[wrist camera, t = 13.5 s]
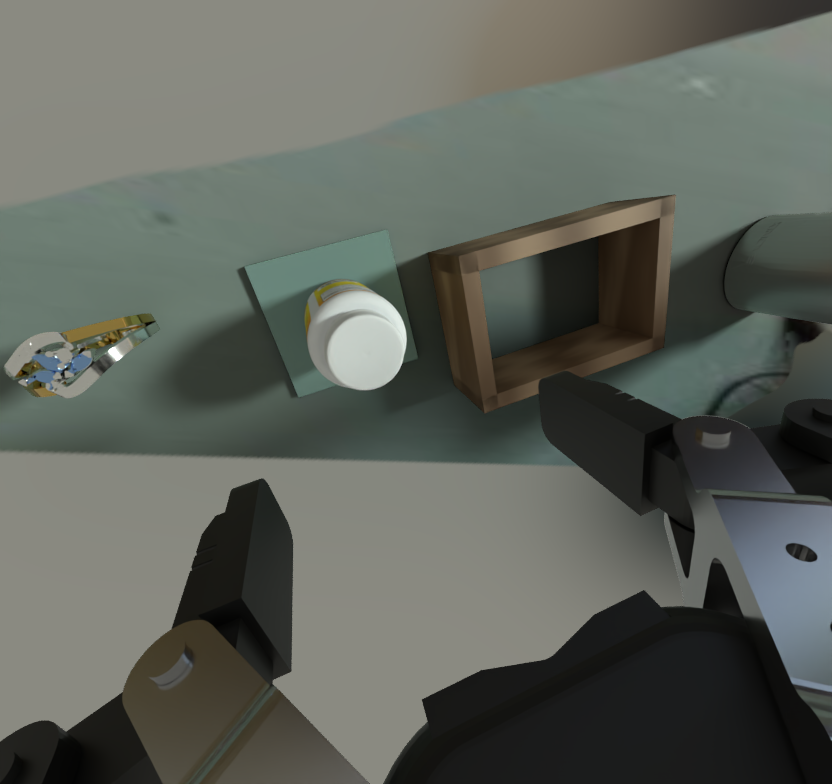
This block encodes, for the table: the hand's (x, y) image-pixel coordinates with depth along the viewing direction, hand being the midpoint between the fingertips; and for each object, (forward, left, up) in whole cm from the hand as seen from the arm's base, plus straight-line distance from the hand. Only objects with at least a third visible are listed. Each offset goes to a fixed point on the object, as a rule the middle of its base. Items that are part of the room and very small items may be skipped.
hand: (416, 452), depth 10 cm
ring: (+12, +7, -20) cm, 25 cm away
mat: (0, 0, -20) cm, 20 cm away
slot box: (-14, -9, -20) cm, 26 cm away
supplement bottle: (0, 0, -20) cm, 20 cm away
